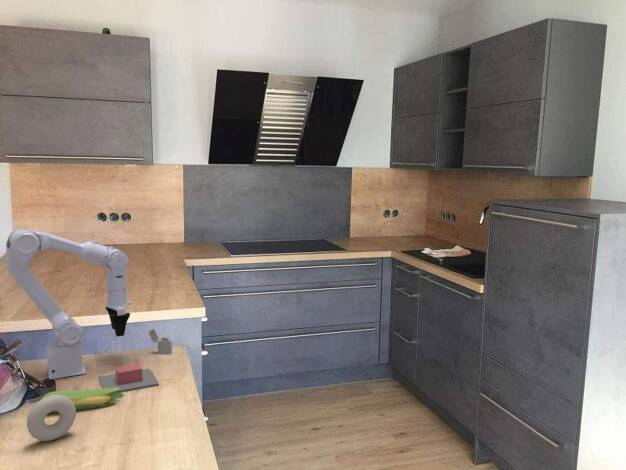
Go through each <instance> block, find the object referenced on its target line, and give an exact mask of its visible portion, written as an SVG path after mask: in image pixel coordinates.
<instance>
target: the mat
mask: <svg viewBox="0 0 626 470" xmlns="http://www.w3.org/2000/svg"><path fill="white" fill-rule="evenodd" d="M98 379H99V382H100V385H101V389H104V388H116V387H117V388H120V389H118V390H116V391H113V392H117V393H125V392H131V391H136V390H140V389H146V388H147V387H148V388H152V386H153V387H158V386H160V382H159V381H158V379H157V377H156V375H154V373H153V371H152V370H151V368H149V367H148V368H145V369H143V368H142V381H138V382H133V383H127V384H122V385H118V384H117V381H116V375H115V373H114V374H107V375H102V376H101V375H99V377H98Z"/></svg>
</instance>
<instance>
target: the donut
mask: <svg viewBox="0 0 626 470" xmlns="http://www.w3.org/2000/svg"><path fill="white" fill-rule="evenodd" d="M37 402H38V403H37ZM37 402H36V403H35V404H34V405H33V407H31V409H30V411H29V413H28V415H27V417H26V427H27V430H28V433H29V434H30V435H31V437H32V438H34V439H35V440H37V441H40V442H41V441H42V442H49V441H55V440H56V439H59V438H61V437H63V436H64V435H65V434H66V433H68V431H70V429H71V428H72V426H73V424H74V422H75V420H76V415H77V410H76V409H75V405H74V403H73V402H72V401H71V399H69V398H67V397H66V396H62V395H51V396H48V397H46V398H43V399H42V400H41V399H39V401H37ZM51 411H58V412H59V413H58V414H59V417H58V418H57V420H56V421H55V422H54V423H52V424H46V423H45V420H46V419H45V418H46V416H47V415H48V414H49V412H51Z"/></svg>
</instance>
